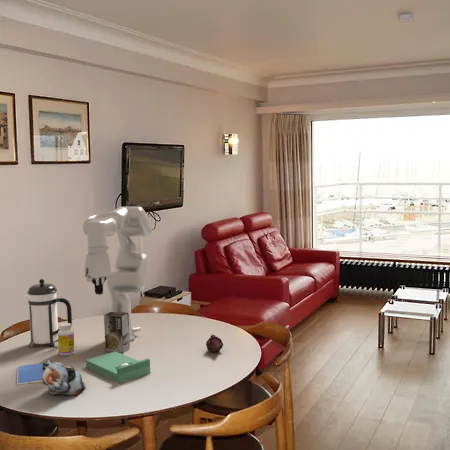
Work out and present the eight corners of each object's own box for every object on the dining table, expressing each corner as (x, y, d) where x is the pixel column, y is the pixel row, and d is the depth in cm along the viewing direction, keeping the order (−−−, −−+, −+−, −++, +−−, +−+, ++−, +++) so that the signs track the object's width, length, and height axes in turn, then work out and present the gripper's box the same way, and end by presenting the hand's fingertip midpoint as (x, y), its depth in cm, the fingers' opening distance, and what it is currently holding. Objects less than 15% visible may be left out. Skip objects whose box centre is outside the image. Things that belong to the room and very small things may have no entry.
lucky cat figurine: (89, 394, 198) (74, 366, 191) (57, 412, 195) (41, 385, 187) (79, 369, 210) (64, 343, 203) (48, 386, 207) (32, 360, 200)
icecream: (227, 341, 234) (221, 334, 249) (210, 338, 233) (205, 331, 248) (223, 358, 234) (218, 349, 249) (206, 354, 233) (201, 346, 248)
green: (115, 358, 235) (115, 345, 234) (150, 372, 218) (149, 359, 217) (85, 367, 225) (85, 354, 224) (119, 382, 208) (119, 368, 207)
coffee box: (130, 348, 248) (129, 312, 246) (123, 353, 242) (122, 316, 240) (112, 346, 251) (111, 311, 249) (104, 351, 244) (103, 314, 243)
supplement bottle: (70, 356, 238) (68, 326, 237) (55, 355, 240) (54, 326, 238) (77, 351, 245) (76, 322, 243) (63, 350, 246) (62, 321, 245)
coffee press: (36, 351, 245) (33, 284, 242) (22, 343, 257) (18, 279, 253) (73, 343, 256) (70, 278, 253) (58, 335, 268) (55, 273, 265)
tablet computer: (52, 382, 211) (52, 378, 211) (16, 386, 207) (16, 383, 207) (50, 365, 230) (50, 362, 229) (17, 369, 225) (17, 366, 225)
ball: (125, 362, 220) (130, 360, 217) (128, 372, 219) (134, 370, 216) (116, 366, 217) (121, 364, 214) (120, 376, 216) (125, 374, 214)
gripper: (107, 247, 240) (109, 289, 242) (76, 251, 230) (78, 295, 232) (117, 249, 235) (119, 292, 237) (86, 253, 224) (87, 298, 226)
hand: (99, 293), depth 234 cm, fingers closed
